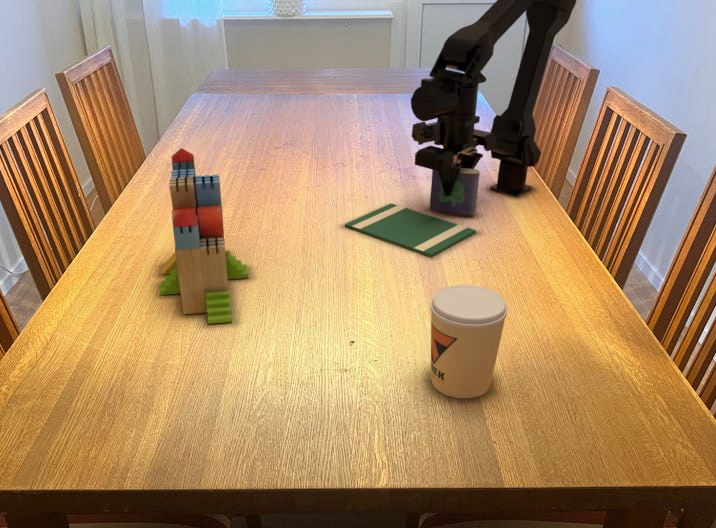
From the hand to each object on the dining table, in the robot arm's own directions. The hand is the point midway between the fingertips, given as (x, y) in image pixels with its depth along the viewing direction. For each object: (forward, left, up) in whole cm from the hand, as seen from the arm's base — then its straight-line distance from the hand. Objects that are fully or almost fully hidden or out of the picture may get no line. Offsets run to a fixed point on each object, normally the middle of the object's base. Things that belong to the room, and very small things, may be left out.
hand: (452, 193), depth 144 cm
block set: (+51, -13, -4) cm, 53 cm away
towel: (+12, -1, -4) cm, 13 cm away
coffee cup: (+47, +34, -4) cm, 58 cm away
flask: (0, 0, -4) cm, 4 cm away
